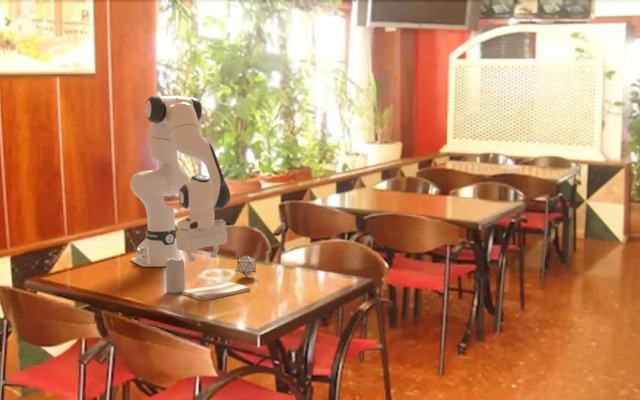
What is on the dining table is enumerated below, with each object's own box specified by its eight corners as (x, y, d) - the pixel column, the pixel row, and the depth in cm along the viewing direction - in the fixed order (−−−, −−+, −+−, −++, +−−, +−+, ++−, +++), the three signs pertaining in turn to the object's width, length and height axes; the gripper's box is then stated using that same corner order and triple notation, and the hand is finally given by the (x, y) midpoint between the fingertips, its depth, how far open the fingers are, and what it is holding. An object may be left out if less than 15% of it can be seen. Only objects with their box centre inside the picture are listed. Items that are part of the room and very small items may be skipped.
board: (182, 293, 268) (182, 290, 268) (227, 284, 282) (227, 281, 282) (204, 301, 259) (204, 297, 258) (250, 290, 273) (250, 287, 272)
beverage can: (162, 292, 270) (161, 259, 269) (177, 288, 275) (176, 256, 273) (173, 295, 266) (172, 261, 264) (188, 292, 271) (187, 258, 269)
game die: (254, 281, 286) (253, 255, 285) (232, 280, 288) (232, 254, 286) (260, 276, 295) (260, 250, 293) (239, 275, 296) (239, 249, 295)
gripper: (220, 217, 282) (220, 254, 284) (173, 223, 268) (174, 262, 269) (230, 219, 277) (231, 256, 279) (183, 225, 263) (184, 265, 265)
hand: (202, 259), depth 274 cm, fingers open, 8 cm apart
